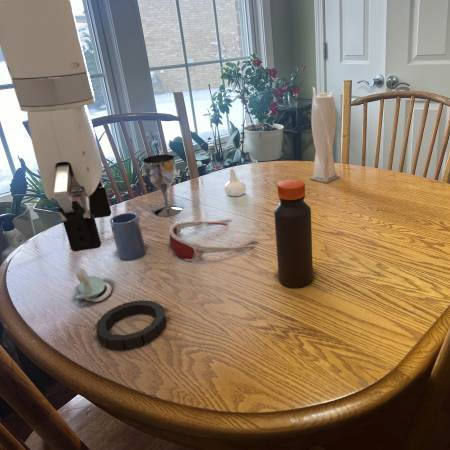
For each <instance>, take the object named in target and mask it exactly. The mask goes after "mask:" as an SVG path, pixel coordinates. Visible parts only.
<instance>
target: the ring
mask: <svg viewBox="0 0 450 450" xmlns="http://www.w3.org/2000/svg"><path fill="white" fill-rule="evenodd" d="M139 314H140V315H150V316H152V317H153V318H154V319H153V320H152V322H151V323H150V324H149V325H147V326H146V327H144V328H143V329H141V330H138V331H135V332H131V333H128V334H113V333H111V332H110V330H111V328H112V327H113V326H115V324H117V322H119V321H121V320H123V319H125V318H127V317H131V316H136V315H139ZM167 323H168V322H167V319H166V313H165V308H164V306H163V305H161V304H160V303H158V302H156V301H153V300H142V299H141V300H140V299H139V300H133V301H127V302H125V303H121V304H119V305H116V306H115V307H113V308H112V309H109V310H107V312H105V313H104V314H103V315H102V316H101V317H100V318H99V319H98V320H97V322H96V331H95V332H96V336H97V339H98V342H99V344H101V345H102V346H104V347H105V348H106V349H108V350H112V351H128V350H133V349H136V348H140V347H143V346H146V345H148V344H149V343H150V342H152V341H154V340H155V339H157V338H159V336H161V335H162V333H163V332H164V330H165V329H166V327H167Z"/></svg>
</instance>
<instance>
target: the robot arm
mask: <svg viewBox="0 0 450 450" xmlns="http://www.w3.org/2000/svg"><path fill="white" fill-rule="evenodd" d="M72 3H73V2H72V0H0V48H1V51H2V54H3V58H4V61H5V64H6V67H7V70H8V74H9V76H10V80H11V84H12V86H13V89H14V93H15V95H16V99H17V102H18V106H19V108H20V111H21V112H24V113H25V112H26V115H27V124H28V130H29V134H30V139H31V140H30V141H31V144H32V148H33V152H34V157H35V160H36V164H37V169H38V172H39V175H40V176H39V177H40V180H41V185H42V187H43V190H44V194H45V197H46V198H47V199H48V200H49V201H51V202H55V201H56V202H57V204H58V208H57V210H58V211H59V212H60V219H61V221H62V223H63V227H64V230H65V234H66V237H67V240H68V243H69V247H70V250H71V251H72V252H81V251H88V250H94V249H99V248H101V246H102V241H101V237H100V233H99V230H98V226H97V221H96V219H99V218H107V217H111V215H112V209H111V205H110V201H109V197H108V194H107V189H106V187H105V184H104V179H103V173H104V172H103V171H104V169H103V163H102V159H101V158H102V157H101V153H100V148H99V145H98V141H97V138H96V134H95V131H94V130H95V129H94V126H93V123H92V118H91V115H90V113H89V109H88V106H89V105H93V104H95V103H96V99H95V94H94V91H93V87H92V82H91V78H90V74H89V72H88V71H89V69H88V66H87V61H86V58H85V54H84V49H83V46H82V45H83V44H82V41H81V36H80V31H79V28H78V24H77V20H76V15H75V12H74V7H73V4H72ZM77 200H80V201H81V204H80V203H79V202H78V201H77Z"/></svg>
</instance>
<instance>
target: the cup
mask: <svg viewBox="0 0 450 450" xmlns="http://www.w3.org/2000/svg"><path fill="white" fill-rule="evenodd" d="M109 222H110V223H109V224H110V228H111V232H112V236H113V241H114V244H115V248H116V253H117V257H118V259H119V260H120V261H125V262H128V261H129V262H130V261H135V260H138V259H140V258H142V257H144V256H145V255H146V253H147V252H146V245H145V241H144V236H143V232H142V231H143V230H142V226H141V223H140V217H139V215H138V213H135V212H123V213H120V214H116V215H114V216H112V217H111V218H110V219H109Z"/></svg>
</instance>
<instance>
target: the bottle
mask: <svg viewBox="0 0 450 450" xmlns="http://www.w3.org/2000/svg"><path fill="white" fill-rule="evenodd" d="M277 197H278V200H279V203H278V204H277V205H276V207H275V208H274V210H273V211H274V212H273V215H274V216H273V217H274V230H275V231H274V232H275V243H276V258H277V272H278V282H280V284H281V285H283V286H284V287H287V288H291V289H296V288H297V289H298V288H303V287H306V286H308V285H309V284H311V282H312V281H313V279H314V266H313V265H314V264H313V263H314V262H313V236H312V235H313V233H312V231H313V230H312V209H311V207H310V205H309V204H308V203H306V202H305V198H306V183H305V182H304V181H303V180H300V179H285V180H281V181H279V182H278V183H277Z"/></svg>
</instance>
